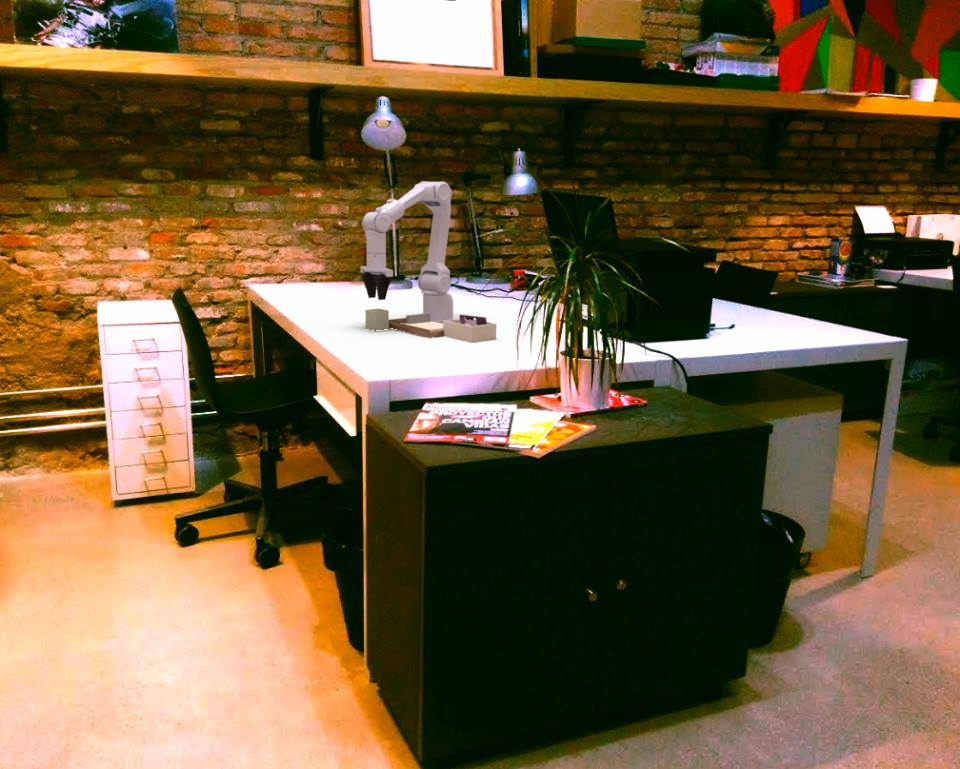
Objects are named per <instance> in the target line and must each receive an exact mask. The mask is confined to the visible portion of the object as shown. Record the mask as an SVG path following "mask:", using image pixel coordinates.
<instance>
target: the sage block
mask: <svg viewBox="0 0 960 769" xmlns="http://www.w3.org/2000/svg"><path fill="white" fill-rule="evenodd" d="M389 314H390V312H389V310H388V309H384V308H383V309H382V308H372V309H371V308H370V309H365V330H366V329H369V330H368V331H370V330H374V331H373V332H375V331H376V330H384V329H389V320H390V318H389ZM389 330H390V329H389ZM376 332H377V331H376Z"/></svg>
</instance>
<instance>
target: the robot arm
mask: <svg viewBox="0 0 960 769" xmlns="http://www.w3.org/2000/svg"><path fill="white" fill-rule="evenodd" d="M452 193H453V191H452V189H451V187H450V186H449V184H448V183H447V182H446V181H424V180H422V181H420V182H419V183H417V184H415V185H414V187H413V188H412V189H411V190H409V191H408V192H406V194H404V195H403V196H401V197H400V198H399V199H393V198H392V199H390V198H389V199H387V200H386V203H385V204H383V205H382V206H379V207H376V208H375V210H374V211H371V212H367V213H366V214H365V215H364V217H363V219H362V221H361V226H362V228H363V230H364V235H365V237H366V242H365V243H366V265H361V266H360V273H361V274H360V278H361V280H362V282H363V284H364V286H365V289H366V293H367V297H368V299H371V298H372V299H373V298H376V296H377V299H378V300H379V301H383V300H384V301H385V300H386V298H387V293H388V291H389V287H390V285H391V282H392V280H393V277H394V270H393V269H390V268H387V253H386V252H387V242H386V241H387V239H386V238H387V234H386V233H387V232H388V231H389V229H390V226H391V224H393V223H394V222H396V221H397V220H399V219H400V218H402V217H403V216H404V215H405V210H406V209H409V208H410V207H412V206H414V205H415V204H417V203H419V202H421V203H422V204H423V205H425V206H426V207H428V209H430V211H431V212H432V215H433V216H432V220H431V222H432V223H431V231H430V232H431V233H430V239H429V245H428V246H429V248H428V256H427V262H426V263H425V264H424V265H423V266H421V271H420V274H419V276H418V278H417V286H418V288H419V290H421V294H422V314H424V313H429V314H430V321H435V322H440V323H443V321H445V320H454V319H455V318H454V299H453V297H452V295H451V294H450V293H449V292H448V291H449V290H450V288H451V285H452V284H451V283H452V282H451V270H450V269H449V268H448V267H447V266H446V265H445V264H446V263H445V262H446V254H447V248H448V247H447V246H448V239H449V238H448V237H449V230H450V222H451V214H452V206H451V203H452V202H451V201H452V195H453V194H452Z"/></svg>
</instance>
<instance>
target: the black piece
mask: <svg viewBox="0 0 960 769" xmlns="http://www.w3.org/2000/svg"><path fill="white" fill-rule="evenodd" d="M458 316H459V319H460V322H461V324H464V325H469V326H473V325H472V324H471V323H466V322H465V318H466V319H467V320H469V319H470V320H474V319H475V320H476V322H477V326H478V325H486V324H487V322H488V321H487V317H483V316H478V315H477V316H475V315H469V314H468V315H466V314H459V315H458ZM462 321H463V323H462Z"/></svg>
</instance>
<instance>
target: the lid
mask: <svg viewBox="0 0 960 769" xmlns="http://www.w3.org/2000/svg"><path fill="white" fill-rule="evenodd" d="M405 318H406V324H405V325H410V326H414V327H419V328H423V329H428V330H429V332H435V331H443V324H442V323H443V322H440V323H437V322H432V321H430V314H429V313H424V314H423V313H415V314H406V315H405Z"/></svg>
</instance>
